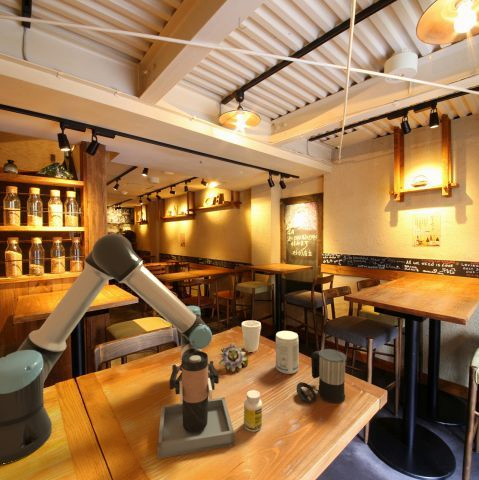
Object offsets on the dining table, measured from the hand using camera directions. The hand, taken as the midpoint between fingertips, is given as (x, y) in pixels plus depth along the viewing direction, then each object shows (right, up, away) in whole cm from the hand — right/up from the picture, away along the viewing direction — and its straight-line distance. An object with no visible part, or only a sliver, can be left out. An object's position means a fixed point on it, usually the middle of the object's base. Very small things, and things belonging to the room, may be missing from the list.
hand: (196, 396), depth 74 cm
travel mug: (-1, -11, +5) cm, 12 cm away
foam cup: (+18, -11, +59) cm, 62 cm away
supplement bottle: (+16, -13, +7) cm, 22 cm away
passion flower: (+9, -12, +42) cm, 45 cm away
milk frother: (+41, -13, +21) cm, 48 cm away
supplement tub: (+32, -12, +40) cm, 53 cm away
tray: (-1, -13, +5) cm, 14 cm away
